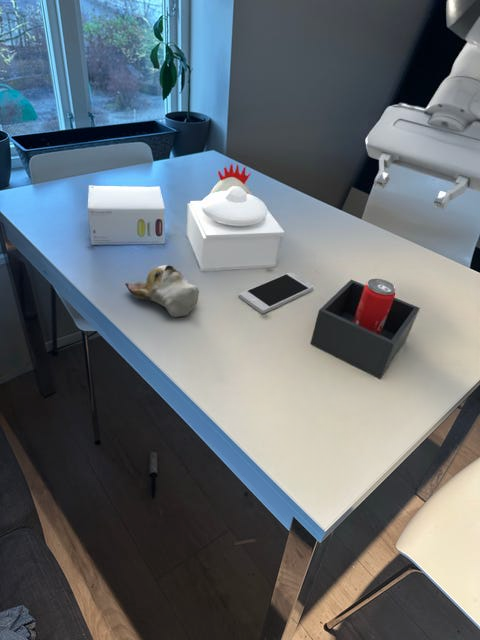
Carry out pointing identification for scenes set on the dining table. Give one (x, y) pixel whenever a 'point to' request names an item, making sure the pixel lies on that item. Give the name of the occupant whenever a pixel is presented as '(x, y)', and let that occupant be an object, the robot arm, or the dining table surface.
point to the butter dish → (232, 231)
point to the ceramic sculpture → (167, 290)
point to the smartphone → (276, 292)
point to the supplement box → (126, 215)
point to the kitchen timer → (232, 180)
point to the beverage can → (375, 305)
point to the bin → (361, 331)
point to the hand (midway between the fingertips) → (407, 195)
